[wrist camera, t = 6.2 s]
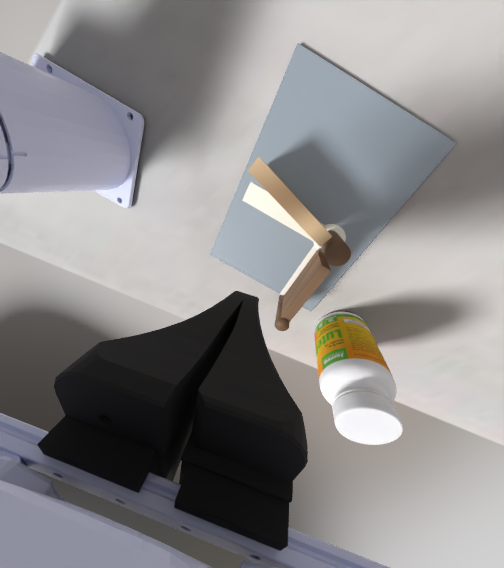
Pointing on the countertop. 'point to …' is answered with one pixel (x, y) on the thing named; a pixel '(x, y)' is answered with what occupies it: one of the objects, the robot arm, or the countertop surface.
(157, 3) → the countertop surface
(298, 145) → the card
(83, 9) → the countertop surface
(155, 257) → the countertop surface
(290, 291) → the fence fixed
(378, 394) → the supplement bottle
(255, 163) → the wooden flat block
